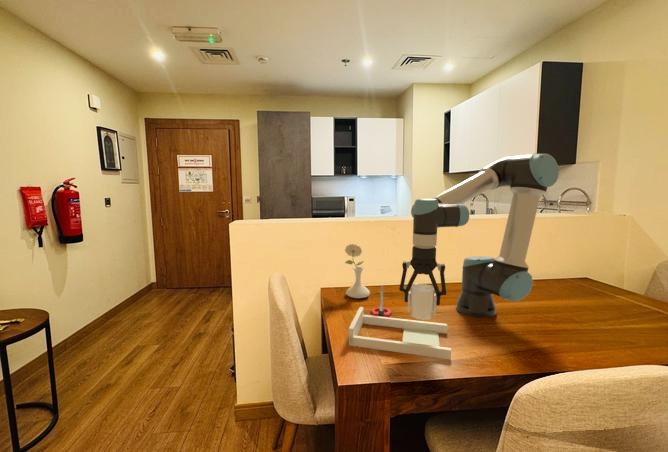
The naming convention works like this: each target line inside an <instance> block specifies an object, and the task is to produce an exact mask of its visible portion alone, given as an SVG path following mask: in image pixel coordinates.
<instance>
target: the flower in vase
mask: <svg viewBox="0 0 668 452" xmlns="http://www.w3.org/2000/svg"><path fill="white" fill-rule="evenodd" d="M344 252H345V254H346V255H347V256H350V257H352V258H356V257H360V256H361V254H362V253H363V250H362V248H361V247H360V245H358V244H353V243H352V244H347V245H346V246H345V249H344ZM344 263H345V264H348V265H353V264H354V266H353V267H352V269H353V270H354V274H355V283H353V285H351V286H350V287H349V288H348V289H346V291H345V294H346V295H347V296H348V297H350V298H352V299H364V298H368V297H369V296H370V294H371V291H370V290H369V289H368V288H367V287H366V286H365V285H364V284H362V282H361V279H362V278H361V276H362V273H363V270H364V267H363V266H360V265H362V264H363V263H364V260H363V261H359V262H357V263H355V261H354V260H350V259H347V260H346V261H345V262H344Z"/></svg>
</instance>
